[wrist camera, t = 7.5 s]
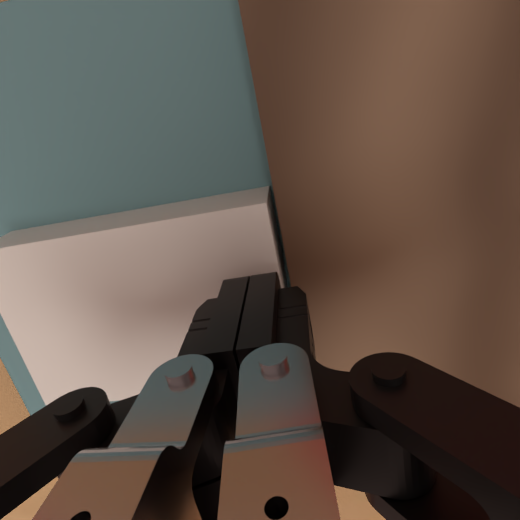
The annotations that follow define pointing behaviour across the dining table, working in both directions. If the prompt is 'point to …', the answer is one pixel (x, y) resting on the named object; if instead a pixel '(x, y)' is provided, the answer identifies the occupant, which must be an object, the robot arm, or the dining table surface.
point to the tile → (127, 286)
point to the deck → (398, 175)
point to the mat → (121, 116)
